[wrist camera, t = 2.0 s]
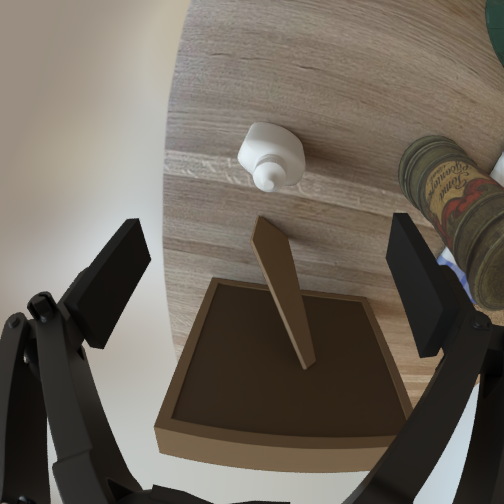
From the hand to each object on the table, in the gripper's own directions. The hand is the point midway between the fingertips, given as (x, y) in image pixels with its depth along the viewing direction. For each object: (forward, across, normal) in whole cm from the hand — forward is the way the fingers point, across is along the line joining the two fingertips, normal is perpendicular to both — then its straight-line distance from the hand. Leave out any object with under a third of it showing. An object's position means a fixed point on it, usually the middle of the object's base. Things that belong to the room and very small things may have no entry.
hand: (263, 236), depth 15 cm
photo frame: (+19, +2, -17) cm, 25 cm away
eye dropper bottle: (+19, 0, 0) cm, 19 cm away
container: (+19, +18, -3) cm, 26 cm away
